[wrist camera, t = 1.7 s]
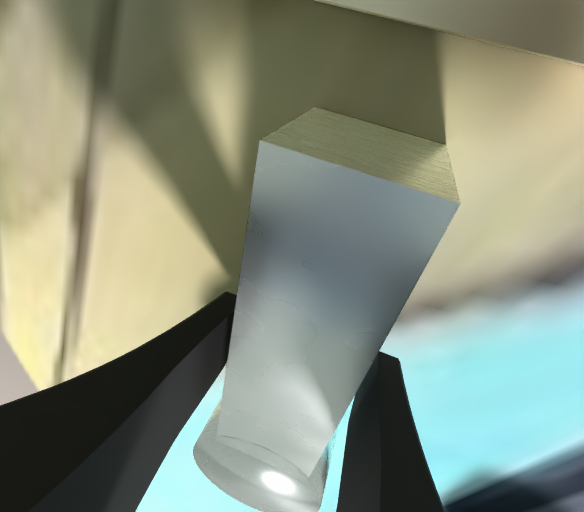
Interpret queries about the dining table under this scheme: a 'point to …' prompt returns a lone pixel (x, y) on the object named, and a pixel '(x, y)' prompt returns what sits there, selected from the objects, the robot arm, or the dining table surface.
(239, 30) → the dining table surface
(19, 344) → the dining table surface
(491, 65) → the dining table surface
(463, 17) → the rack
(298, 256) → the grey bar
